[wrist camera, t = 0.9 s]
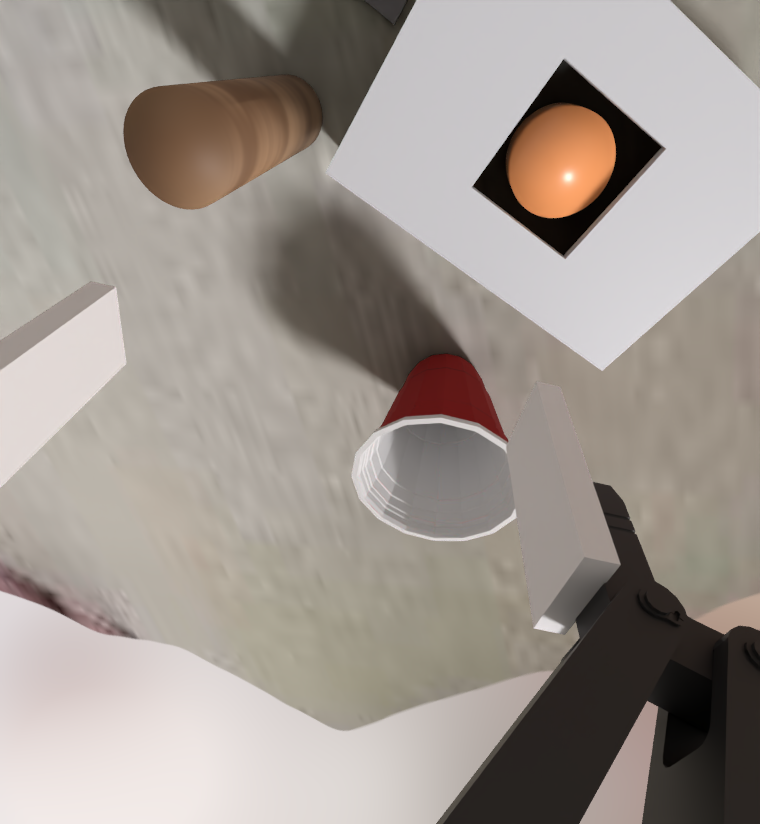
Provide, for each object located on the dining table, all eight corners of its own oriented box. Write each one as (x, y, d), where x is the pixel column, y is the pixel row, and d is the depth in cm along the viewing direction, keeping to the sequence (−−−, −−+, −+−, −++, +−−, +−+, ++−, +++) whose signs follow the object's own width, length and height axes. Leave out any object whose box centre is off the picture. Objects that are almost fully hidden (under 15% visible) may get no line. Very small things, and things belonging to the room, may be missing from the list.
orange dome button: (486, 171, 28) (488, 179, 26) (552, 79, 26) (560, 81, 24) (554, 224, 30) (562, 237, 28) (625, 143, 27) (639, 149, 25)
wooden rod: (247, 124, 31) (111, 167, 19) (275, 58, 29) (140, 58, 17) (303, 164, 32) (208, 230, 20) (334, 103, 30) (248, 134, 17)
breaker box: (345, 155, 31) (325, 172, 26) (494, -119, 24) (503, -165, 19) (582, 328, 36) (602, 370, 31) (770, 146, 28) (835, 164, 23)
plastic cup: (348, 381, 41) (313, 481, 31) (447, 295, 36) (443, 384, 26) (437, 458, 44) (431, 570, 35) (539, 391, 39) (566, 500, 29)
